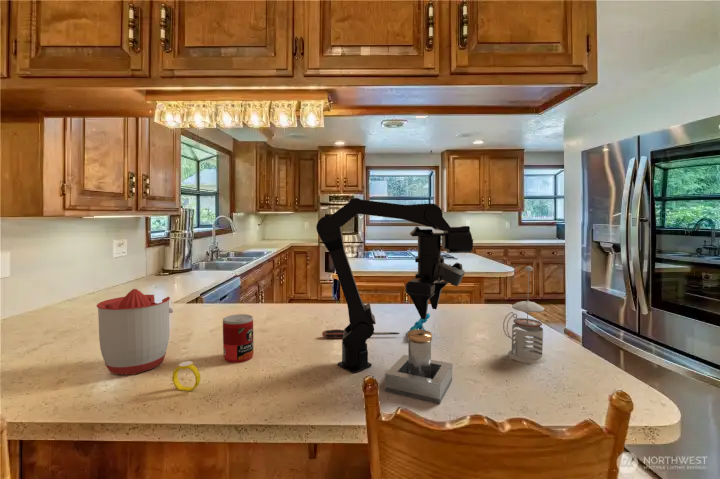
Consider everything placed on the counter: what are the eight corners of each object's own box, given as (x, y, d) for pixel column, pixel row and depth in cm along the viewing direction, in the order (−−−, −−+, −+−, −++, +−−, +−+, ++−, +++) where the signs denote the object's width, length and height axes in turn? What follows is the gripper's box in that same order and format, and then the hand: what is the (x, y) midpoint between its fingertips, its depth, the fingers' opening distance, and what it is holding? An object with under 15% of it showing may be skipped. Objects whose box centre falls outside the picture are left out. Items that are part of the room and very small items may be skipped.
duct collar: (385, 391, 77) (385, 373, 77) (403, 370, 88) (403, 354, 88) (439, 404, 72) (440, 384, 72) (452, 380, 83) (452, 363, 83)
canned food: (241, 365, 91) (240, 323, 91) (216, 360, 94) (215, 320, 93) (259, 354, 98) (259, 315, 98) (236, 350, 101) (235, 313, 101)
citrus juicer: (190, 358, 96) (188, 284, 95) (125, 385, 80) (122, 297, 79) (151, 349, 102) (149, 280, 101) (84, 372, 86) (81, 291, 85)
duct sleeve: (402, 380, 80) (402, 333, 79) (417, 373, 84) (417, 328, 83) (421, 389, 76) (421, 339, 76) (436, 381, 80) (436, 333, 79)
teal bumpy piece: (409, 325, 121) (430, 307, 117) (422, 338, 120) (443, 320, 116) (400, 339, 111) (422, 320, 107) (413, 353, 110) (436, 335, 106)
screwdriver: (399, 336, 115) (399, 327, 115) (400, 339, 112) (400, 330, 112) (322, 337, 114) (322, 327, 114) (321, 340, 111) (321, 330, 111)
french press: (555, 362, 93) (558, 268, 92) (514, 365, 92) (517, 269, 90) (531, 349, 103) (533, 263, 102) (494, 351, 101) (496, 264, 100)
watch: (170, 392, 77) (168, 366, 77) (179, 386, 80) (177, 361, 80) (195, 393, 76) (193, 366, 76) (203, 387, 79) (201, 361, 79)
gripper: (451, 261, 77) (451, 330, 79) (469, 250, 94) (468, 307, 95) (404, 258, 83) (404, 323, 84) (428, 248, 99) (428, 303, 101)
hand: (429, 313), depth 91 cm, fingers open, 9 cm apart
